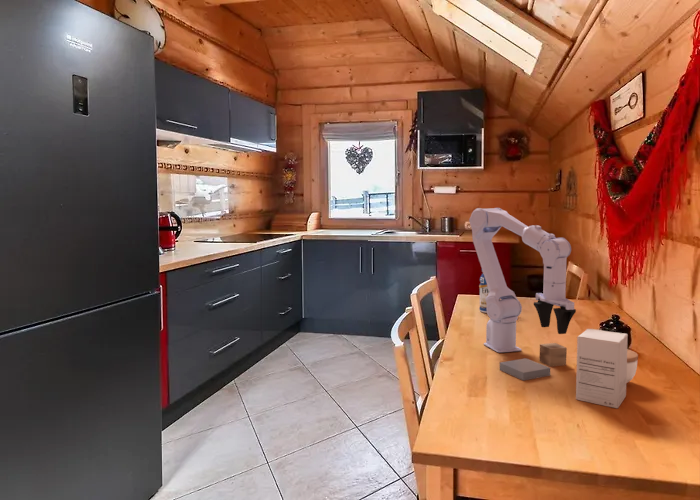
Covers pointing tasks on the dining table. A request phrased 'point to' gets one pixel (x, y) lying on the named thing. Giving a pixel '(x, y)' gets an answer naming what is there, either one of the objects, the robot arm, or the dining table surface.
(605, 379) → the supplement box
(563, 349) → the walnut block
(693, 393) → the dining table surface
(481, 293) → the beverage bottle
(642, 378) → the dining table surface
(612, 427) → the dining table surface
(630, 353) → the lidded jar
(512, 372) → the plate
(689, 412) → the dining table surface
